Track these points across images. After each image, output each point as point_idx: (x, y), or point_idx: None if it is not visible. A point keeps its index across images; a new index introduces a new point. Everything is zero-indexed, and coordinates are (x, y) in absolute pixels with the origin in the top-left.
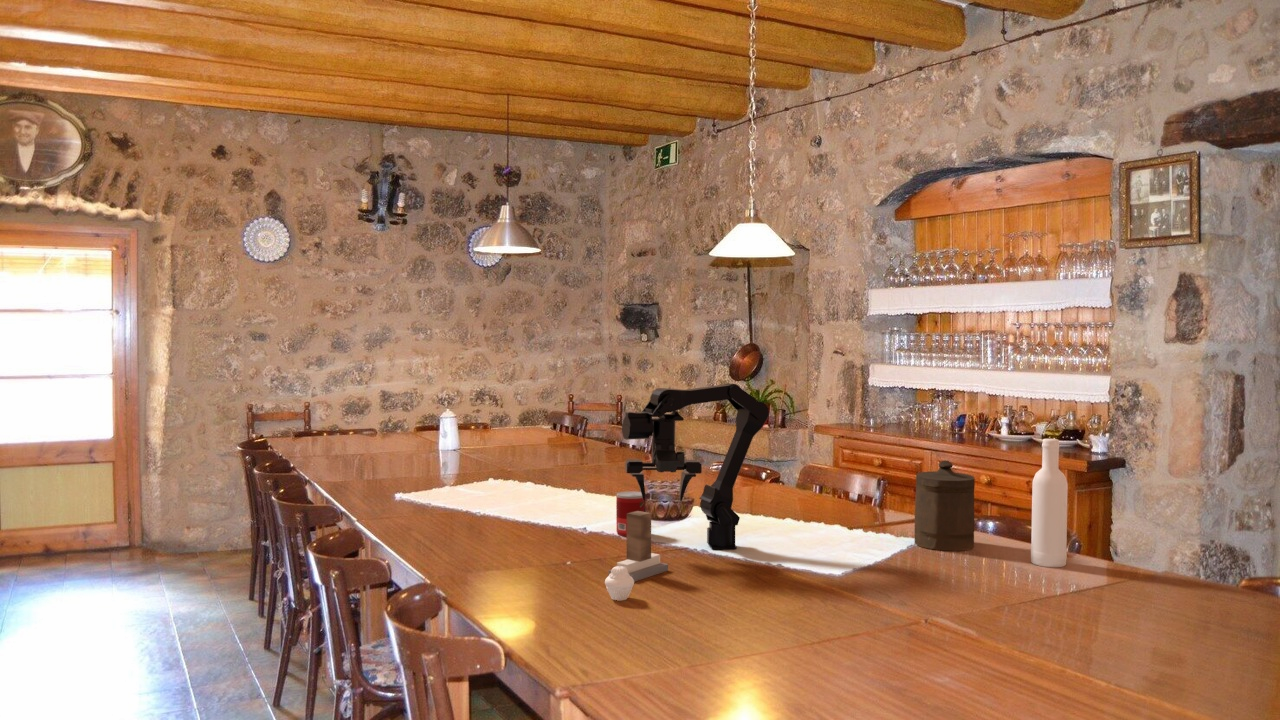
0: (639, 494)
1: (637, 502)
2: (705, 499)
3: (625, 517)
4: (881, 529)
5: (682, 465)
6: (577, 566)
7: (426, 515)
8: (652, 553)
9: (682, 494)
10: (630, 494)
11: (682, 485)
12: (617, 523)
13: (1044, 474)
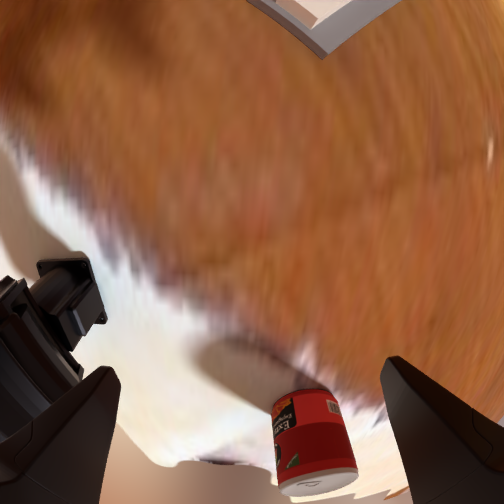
0: (294, 489)
1: (308, 463)
2: (28, 386)
3: (333, 425)
4: None
5: None
6: (479, 108)
7: (493, 409)
8: (308, 6)
9: (75, 393)
10: (318, 486)
11: (42, 449)
12: (342, 417)
13: None
